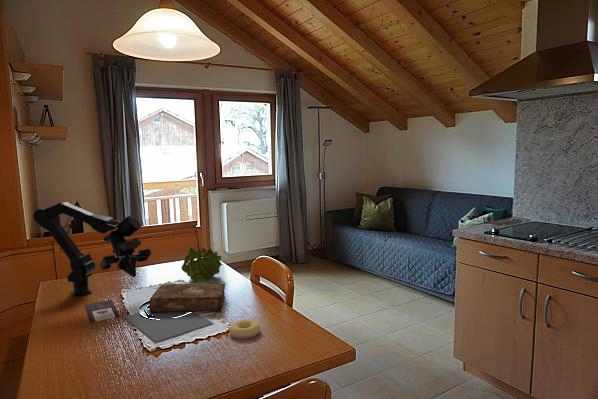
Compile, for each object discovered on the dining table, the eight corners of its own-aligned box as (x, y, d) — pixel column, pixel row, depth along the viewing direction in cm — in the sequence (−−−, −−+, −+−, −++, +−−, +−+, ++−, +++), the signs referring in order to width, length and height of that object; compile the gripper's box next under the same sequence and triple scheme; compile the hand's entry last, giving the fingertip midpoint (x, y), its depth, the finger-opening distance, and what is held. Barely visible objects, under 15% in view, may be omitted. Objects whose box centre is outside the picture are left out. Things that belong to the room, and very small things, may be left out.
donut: (227, 337, 134) (236, 345, 126) (224, 324, 134) (233, 331, 125) (255, 326, 138) (266, 333, 130) (252, 313, 138) (263, 319, 130)
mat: (124, 317, 144) (124, 316, 144) (177, 303, 158) (177, 302, 158) (155, 343, 125) (155, 341, 125) (213, 324, 139) (213, 322, 139)
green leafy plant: (200, 261, 199) (222, 241, 194) (210, 289, 191) (234, 269, 186) (171, 257, 184) (194, 235, 179) (181, 286, 176) (205, 265, 171)
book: (149, 314, 146) (220, 313, 148) (149, 299, 146) (220, 298, 147) (161, 297, 162) (225, 296, 164) (161, 284, 162) (225, 283, 164)
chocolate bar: (111, 299, 160) (119, 315, 145) (111, 301, 160) (119, 317, 145) (85, 304, 156) (90, 321, 141) (85, 306, 156) (91, 323, 141)
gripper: (101, 235, 152) (117, 270, 147) (148, 228, 166) (164, 260, 161) (93, 252, 158) (108, 287, 153) (139, 244, 173) (154, 275, 167)
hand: (134, 276), depth 158 cm, fingers closed
